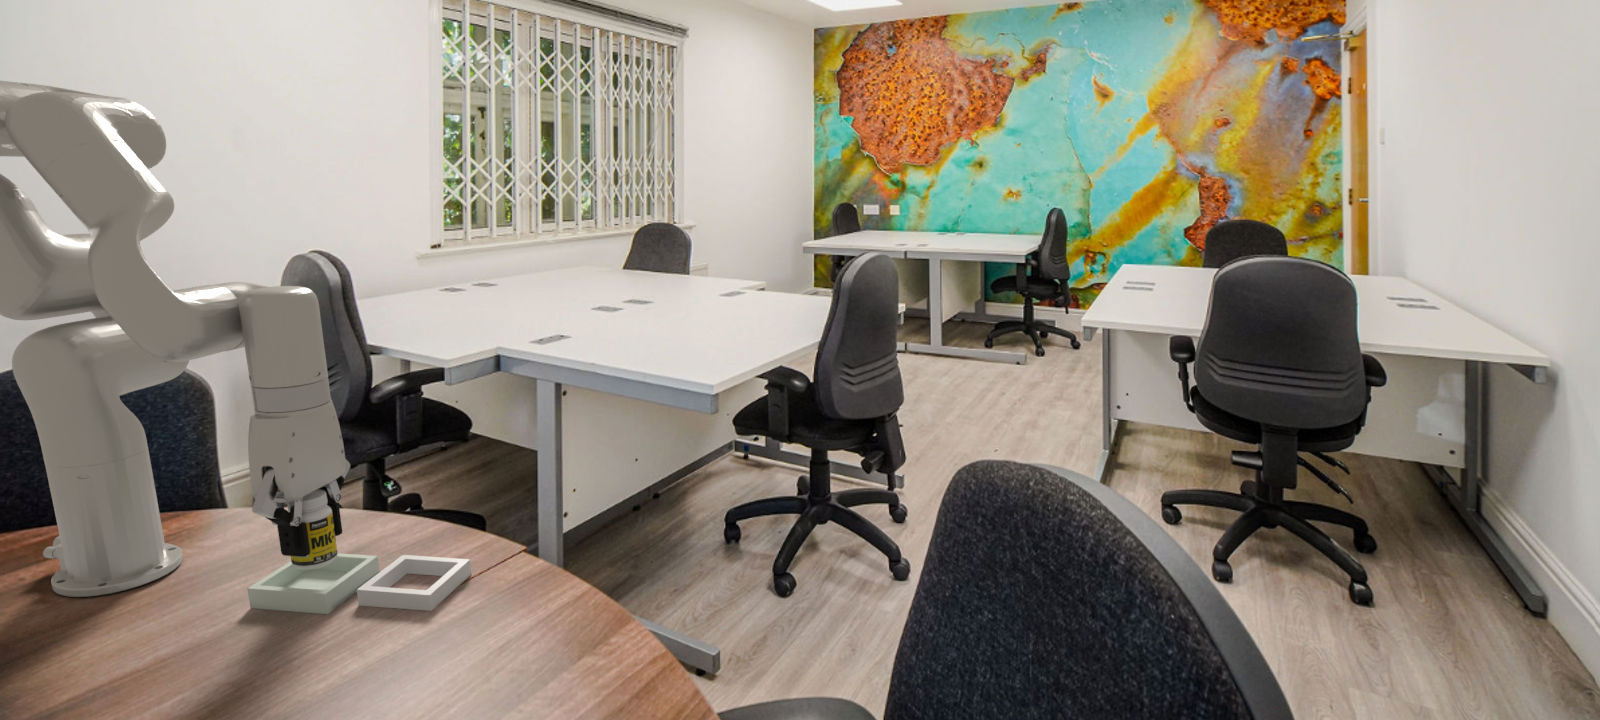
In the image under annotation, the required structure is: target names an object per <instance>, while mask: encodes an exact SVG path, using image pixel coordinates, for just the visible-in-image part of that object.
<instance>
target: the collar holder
mask: <svg viewBox="0 0 1600 720" xmlns="http://www.w3.org/2000/svg"><path fill="white" fill-rule="evenodd" d="M471 566H472V565H471V559H470V558H456V557H455V558H453V557H442V556H441V557H440V556H426V555H413V554H412V555H411V554H402V555H401V556H398V558H396V560H394V561H393V562H391V563H390V564H388V565H387V566H386V567H384V568H382V570H381V571H380V572H379V573H378V574H377V575H375V576H374V577H373V578H371V579H370V580H369V581H367V582H366V583H365V584H363V585H362V586H361V587H360V588H358V589H357V592H356V595H357V596H356V597H357V602H358V603H357V605H358V606H361V607H362V606H363V607H374V608H376V607H377V608H388V609H389V608H390V609H399V610H400V609H401V610H412V611H428V612H432V611H433V610H435V609H436V607H437V606H439V605H440V604H441V603H442V602H443V601H444V600H445V599H446V598H448V596H450V594H452V592H454V591H455V590H456V589H457V588H458V587H459V586H460V585H461V584H462V583H463V582H465V580H466V581H467V579H468V578H469V577H470V576H471V575H472V567H471ZM407 574H409V575H422V576H423V575H424V576H438V577H439V579H438V580H436V581H435V582H434V583H433V584H432V585H431V586H429V588H427V589H415V588H413V589H412V588H401V587H400V588H399V587H393V585H395V584H396V583H397V582H399V581H400V580H401V579H402V578H403V577H404V576H406V575H407Z"/></svg>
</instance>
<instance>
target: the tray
mask: <svg viewBox="0 0 1600 720" xmlns="http://www.w3.org/2000/svg"><path fill="white" fill-rule="evenodd" d="M337 554H338V555H337V558H336V559H335V560H334V561H333V562H332V563H330V564H328V565H326V566H323V567H320V568H316V569H308V570H301V569H296V568H294V567H293V566H292V562H291V560H290V561H288V562H287V563H285V564H283V565H282V566H281V567H280V566H279V568H277V569H276V570H274V571H272V572H271V573H270V574H267V575H266V576H265V577H263V578H261V579H260V580H258V581H257V582H255V583H253V584H251V586H249V587H248V588H247V595H248V601H249V607H250V609H255V610H256V609H259V610H270V611H281V612H292V613H293V612H295V613H296V612H297V613H307V614H318V615H319V614H321V615H328V614H330V613H332V612H333V611H334V610H335V609H337V608H338V607H339V606H341V605H342V604H343V603H344V602H345V601H347V600H349V598H351V597H352V596H353V595H355V594H357V589H358V588H360V587H361V586H362V585H363V584H365V583H366V582H367V581H369V580H370V579H371V578H373V577H374V576H375V575H377V574H378V573H379V572H381V571H380V564H379V556H378V555H368V554H353V553H342V552H341V553H340V552H337Z"/></svg>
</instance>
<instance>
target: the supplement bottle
mask: <svg viewBox="0 0 1600 720" xmlns="http://www.w3.org/2000/svg"><path fill="white" fill-rule="evenodd" d="M327 503H328V500H327V495H326V492H325V491H324V490H319V489H318V490H316V491H314V492H312V493H310V494H308V495H306V496H304V497H303V500H302V517H301V522H303V523H306V525H307V532H308V539H309V546H310V554H309V555H307V556H305V557H299V556H290V561H291V562H292V566H293V567H294V568H296V569H301V570H308V569H316V568H320V567H323V566H326V565H328V564H330V563H332V562H333V561H334V560H335V559H336V558H337V555H338V554H337V553H338V546H337V540H336V536H335V530H334V522H333V514H332V509H331V508H330V507H329V506H328V505H327ZM286 505H287V511H289V512H290V505H291V503H286Z"/></svg>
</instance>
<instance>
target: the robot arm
mask: <svg viewBox="0 0 1600 720" xmlns="http://www.w3.org/2000/svg"><path fill="white" fill-rule="evenodd" d="M166 151H167V138H166V135H165V132H164V129H163V127H162V125H161V123H159V121H158V120H157V118H156V117H155V116H154V115H153V114H152V113H151V111H149V110H148V109H147V108H145V107H144V106H143V105H141V104H138V103H137V102H135V101H133V100H130V99H128V98H125V97H118V96H117V97H116V96H110V95H109V96H107V95H101V94H96V93H90V92H84V91H80V90H75V89H74V90H73V89H68V88H63V87H58V86H49V85H45V84H35V83H27V82H25V83H24V82H17V81H7V80H0V157H16V158H17V157H18V158H19V157H20V158H21V157H22V158H25V159H26V161H28V163H29V164H30V165H31V166H32V168H33V169H35V171H36V172H37V173H38V174H39V175H40V176H41V178H42V179H43V180H44V181H45V183H47V185H49V187H50V188H51V189H52V190H53V192H54V193H56V195H57V196H58V197H59V198H60V199H61V201H62V202H63V203H64V204H65V206H67V208H69V210H70V211H71V212H72V214H73V215H74V216H75V217H76V218H77V219H78V220H79V221H80V223H82V224H83V226H84V227H85V229H87V231H88V232H89V233H71V234H59V233H57V232H55V231H54V230H52V229H51V228H50V227H49V225H48V224H47V223H46V221H45V220H44V219H43V217H42V215H40V213H39V210H38V209H37V207H36V206H35V204H34V202H33V201H32V200H31V199H30V197H29V196H28V195H27V194H26V193H25V192H24V191H23V190H22V189H21V188H20V187H18V186H17V184H15V183H14V182H12V181H11V180H10V179H9V178H7V177H6V176H4V175H3V174H1V173H0V316H2V317H4V318H7V319H10V320H15V321H36V320H44V319H45V320H46V319H51V318H58V317H65V316H72V315H77V314H84V313H89V312H90V313H91V314H93V318H88V319H81V320H76V321H71V322H66V323H60V324H55V325H52V326H47V327H45V328H42V329H40V330H37V331H35V332H34V333H33V332H32V334H31V333H30V334H29V335H28V336H26V337H25V338H24V339H22V340H21V342H19V344H18V345H17V346H16V347H15V349H14V352H13V354H12V358H11V366H12V367H11V369H12V373H13V376H14V379H15V381H16V384H17V387H18V388H19V389H20V392H21V394H22V396H23V398H24V400H25V403H26V405H27V406H28V408H29V411H30V413H31V416H32V419H33V422H34V424H35V428H36V431H37V435H38V439H39V443H40V447H41V453H42V459H43V461H44V466H45V470H46V471H45V472H46V476H47V480H48V486H49V491H50V495H51V501H52V506H53V510H54V514H55V520H56V524H57V530H58V535H57V536H56V537H55V538H54V540H53V542H52V546H51V545H50V546H47V547H45V548H44V549H43V552H42V556H43V557H44V558H47V559H58V563H59V567H60V569H59V570H58V571H56V572H55V573H54V574H53V575H52V577H51V580H50V584H51V589H52V591H53V592H54V593H56V594H58V595H61V596H64V597H71V598H73V597H74V598H82V597H83V598H85V597H86V598H87V597H96V596H103V595H109V594H114V593H119V592H122V591H127V590H130V589H134V588H137V587H141V586H143V585H146V584H149V583H152V582H154V581H156V580H159V579H161V578H162V577H164V576H166V575H168V574H169V573H171V572H173V571H174V570H175V569H177V568H178V567H179V566H180V565H181V563H182V561H183V558H184V556H183V551H182V548H180V546H177V545H175V544H172V543H167V542H165V538H164V532H163V527H162V520H161V515H160V509H159V504H158V496H157V491H156V486H155V480H154V479H155V478H154V474H153V468H152V463H151V457H150V451H149V446H148V439H147V436H146V432H145V429H144V426H143V424H142V423H141V421H140V420H139V418H138V417H137V416H136V415H135V414H134V412H132V411H131V410H130V409H129V408H128V407H127V406H126V405H125V404H124V403H123V401H122V400H121V398H120V396H123V395H126V394H129V393H132V392H135V391H140V390H144V389H146V388H150V387H153V386H157V385H160V384H163V383H166V382H169V381H171V380H174V379H176V378H178V377H179V376H180V375H181V374H183V372H184V371H185V370H186V368H187V367H188V366H189V364H190V363H189V362H190V361H191V360H197V359H200V358H203V357H207V356H212V355H215V354H220V353H222V352H229V351H233V350H238V349H242V348H243V349H244V351H245V352H244V353H245V356H246V357H245V358H246V363H247V365H246V366H247V371H248V379H249V382H250V383H249V384H250V389H251V396H252V404H253V411H254V414H253V415H251V416H250V419H249V423H248V438H247V439H248V443H247V444H248V447H247V448H248V450H247V451H248V452H247V453H248V465H249V466H248V467H249V479H250V486H251V493H252V495H253V498H254V499H255V500H254V503H253V506H252V509H251V510H252V513H253V514H255V515H257V516H261V517H264V518H266V519H267V520H269V521H270V522H271V524H272V525H273V526H277V533H278V539H279V547H280V553H281V555H283V557H284V556H285V557H291V556H299V557H305V556H307V555H309V554H310V546H309V539H308V532H307V525H306V523H303V522H301V517H302V500H303V497H304V496H306V495H308V494H310V493H312V492H314V491H316V490H318V489H319V490H324V491H325V492H326V495H327V500H328V503H327V505H328V506H329V507H330V508H331V509H332V514H333V522H334V530H335V537H338V536H340V535H341V534H343V525H342V521H341V519H342V518H341V511H340V510H341V509H340V504H339V503H340V502H342V497H343V496H342V492H341V490H342V488H343V486H344V483H345V478H346V476H347V474H348V472H349V470H350V468H351V463H350V462H349V460H347V458H346V454H345V447H344V440H343V436H342V430H341V427H340V426H341V425H340V421H339V419H338V415H337V411H336V408H335V405H334V402H333V400H332V396H331V390H330V389H331V388H330V380H329V372H328V366H327V365H328V364H327V357H326V350H325V344H324V343H325V342H324V333H323V326H322V318H321V311H320V304H319V299H318V296H317V294H316V293H315V292H314V291H313V290H312V289H310V288H308V287H304V286H299V285H297V286H296V285H282V286H281V285H280V286H278V285H277V286H267V285H261V284H257V283H253V282H245V281H231V282H223V283H222V282H221V283H216V284H206V285H200V286H194V287H193V286H192V287H188V288H186V287H185V288H181V289H180V288H179V289H175V290H172V288H170V287H169V286H168V284H166V283H165V281H163V280H162V278H161V277H160V276H159V275H158V273H157V272H156V271H155V270H154V269H153V268H152V267H151V265H150V263H149V262H148V261H147V259H146V257H145V255H144V253H143V250H142V248H141V241H143V240H145V239H146V238H148V237H150V236H151V235H153V234H154V233H155V232H157V231H158V230H159V229H161V228H162V227H163V226H164V225H166V223H167V222H168V221H169V219H171V216H173V213H174V210H175V203H174V199H173V197H172V195H171V194H170V192H169V191H168V190H167V189H166V187H164V185H163V184H161V182H160V181H159V180H158V179H157V178H156V176H155V175H154V174H153V173H152V172H151V170H150V169H152V168H154V167H156V166H157V165H158V164H159V163H160V162H161V161H162V160H164V159H163V158H164V157H165V154H166ZM287 503H291V505H290V511H289V510H288V509H285V504H287Z"/></svg>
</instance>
